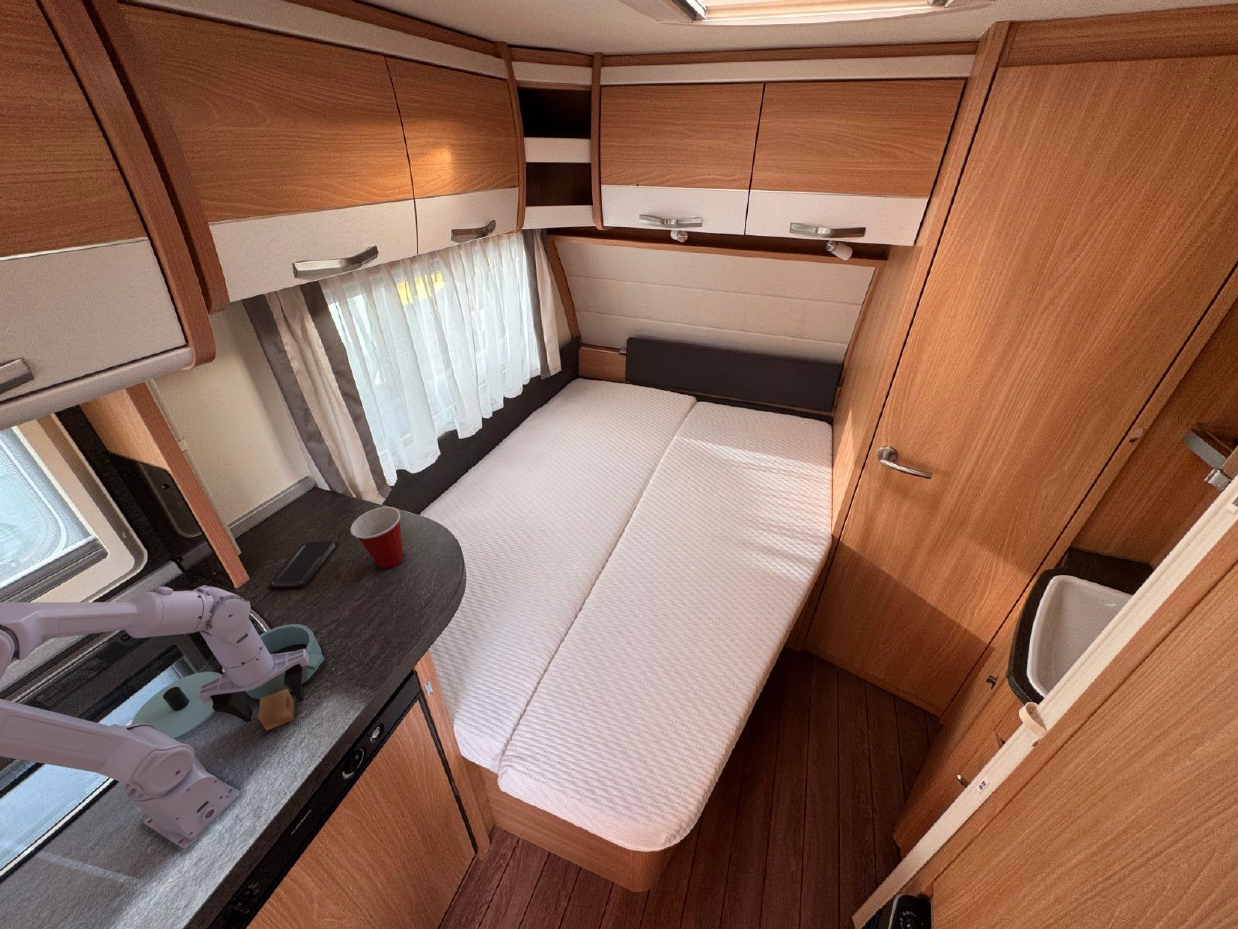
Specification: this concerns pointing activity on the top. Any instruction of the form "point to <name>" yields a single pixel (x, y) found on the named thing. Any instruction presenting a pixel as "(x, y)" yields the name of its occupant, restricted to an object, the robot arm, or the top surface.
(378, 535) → the plastic cup
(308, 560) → the phone
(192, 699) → the lid
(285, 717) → the block
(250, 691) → the pot
